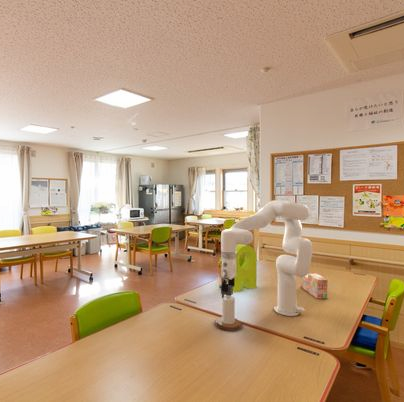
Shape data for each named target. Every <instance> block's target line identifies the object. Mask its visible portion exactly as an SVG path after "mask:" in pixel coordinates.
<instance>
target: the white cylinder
mask: <svg viewBox="0 0 404 402" xmlns="http://www.w3.org/2000/svg"><path fill="white" fill-rule="evenodd" d="M221 285H222V284H220V285H219V286H218V288H219V289H221ZM220 294H221V299H222V300H221V304H222V305H221V313H222V314H221V316H220V317H217V318H216V320H217V324H218V325H219V326H221V327H224V328H230V329H233V328H238V327H239V326H240V322H241V321H240V320H239V319H238V318H235V312H236V310H235V309H236V308H235V307H236V304H235V303H236V300H235V299H236V298H235V297H233V294H234V292H233V286H231V285H228V292H223V291H221V290H220Z"/></svg>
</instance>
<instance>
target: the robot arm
mask: <svg viewBox="0 0 404 402" xmlns="http://www.w3.org/2000/svg"><path fill="white" fill-rule="evenodd" d="M310 215H311V212H310V209H309V207H308V206H307V205H306V204H303V203H298V202H293V201H290V200H279V199H275V200H270V201H268V202H267V203H266V204H265V205H263V207H261V208H260V209H259V210H257V212H255V213H254V214H251V215H249V216H247V217H245V218H242V219H240V220H238V221H236V222H235V223H234V224H233V225H232V226H231V227H229V228H228V229H223V230H222V231H221V234H220V235H221V236H220V258H221V267H220V268H221V269H220V280H221V282H220V283H221V284H220V285H221V288H220V292H221V291H223V292H228V285H231V286H233V287H234V286H235V279H234V278H235V276H236V255H237V244H242V245H247V246H248V245H249V244H251V243H252V242H253V241H254V234H253V233H252V232H251V231H253V230H258V229H264V228H266V227H267V226H268V225H270V224H271V223H272V222H273V221H274V220H275V219H277V218H279V217H280V218H281V219H282V221H283V223H284V234H283V238H282V245H281V247H282V250H283V251H284V252H286V253H288V254H281V255H279V256H278V257H277V258H276V259H275V267H276V272H277V273H276V274H277V301H276V303H277V304H276V305H275V306H274V307H273V309H274V312H276V313H277V314H279V315H281V316H285V317H286V316H287V317H296V316H298V315H299V314H300V313H303V314H305V313H306V308H304V307H302V306H298V303H297V284H298V283H297V277H298V278H299V277H300V278H301V277H304V276H306V275H307V274H309V273H310V268H311V263H312V258H313V253H314V246H313V243H312V241H311V240H310V239H308V238H306V237H302V232H303V225H302V223H301V221H306V220H307V219H308V218H309V217H310ZM289 254H293V255H296V256H293V255H289Z"/></svg>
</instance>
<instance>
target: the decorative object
mask: <svg viewBox="0 0 404 402" xmlns="http://www.w3.org/2000/svg"><path fill="white" fill-rule="evenodd" d="M243 254H244V256H245V257H244V262H243V264H242V265H241V264H240V259H241V256H242V255H243ZM257 257H258V256H257V253H256V250H255V248H253V247H252V246H250V245H248V244H247V245H242V244H237V255H236V276H235V278H234V279H235V286H234V287H233V293H237V292H241V291H243V287H244V288H246V289H249V290H250V289H254V288H257V279H258V278H257V274H258V273H257V271H258V269H257V268H258V267H257V266H258V265H257V263H258V262H257V261H258V258H257Z"/></svg>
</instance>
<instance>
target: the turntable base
mask: <svg viewBox="0 0 404 402" xmlns="http://www.w3.org/2000/svg"><path fill="white" fill-rule="evenodd" d="M214 325H215V327H216V328H217V329H219V330H222V331H225V332H238V331H240V330H241V329H242V327H243V323H242V322H241V321H240V326H239V327H238V328H233V329H230V328H224V327H221V326H219V325H218V324H217V319H215V321H214Z"/></svg>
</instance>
